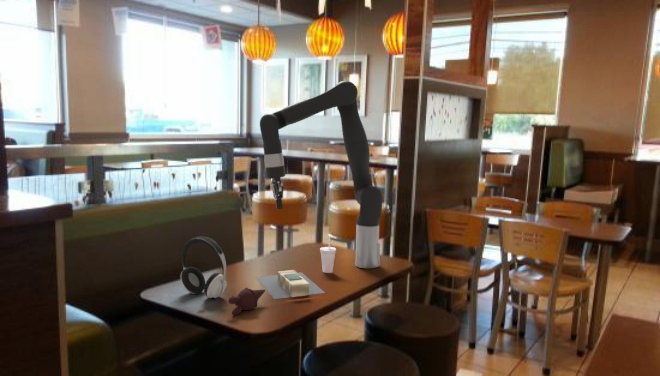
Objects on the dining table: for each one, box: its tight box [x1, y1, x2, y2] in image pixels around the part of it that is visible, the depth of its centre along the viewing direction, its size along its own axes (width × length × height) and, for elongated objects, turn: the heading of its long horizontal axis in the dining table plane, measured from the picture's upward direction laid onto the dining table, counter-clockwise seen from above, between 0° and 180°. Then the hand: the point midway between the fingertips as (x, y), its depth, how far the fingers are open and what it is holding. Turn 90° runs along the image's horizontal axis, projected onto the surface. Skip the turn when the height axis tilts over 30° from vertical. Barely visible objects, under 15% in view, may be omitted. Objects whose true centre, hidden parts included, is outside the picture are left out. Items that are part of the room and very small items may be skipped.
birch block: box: [277, 269, 310, 298], centre depth 170 cm, size 4×6×16 cm
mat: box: [255, 272, 326, 300], centre depth 175 cm, size 24×18×1 cm
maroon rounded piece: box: [228, 287, 266, 317], centre depth 153 cm, size 7×7×15 cm
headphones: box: [180, 235, 228, 299], centre depth 162 cm, size 19×8×20 cm, turn 60°
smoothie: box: [319, 237, 337, 274], centre depth 190 cm, size 6×6×14 cm
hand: (279, 208), depth 195 cm, fingers closed
